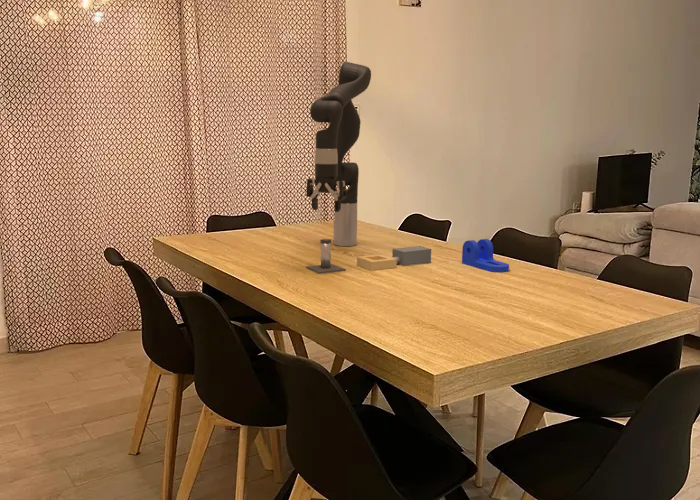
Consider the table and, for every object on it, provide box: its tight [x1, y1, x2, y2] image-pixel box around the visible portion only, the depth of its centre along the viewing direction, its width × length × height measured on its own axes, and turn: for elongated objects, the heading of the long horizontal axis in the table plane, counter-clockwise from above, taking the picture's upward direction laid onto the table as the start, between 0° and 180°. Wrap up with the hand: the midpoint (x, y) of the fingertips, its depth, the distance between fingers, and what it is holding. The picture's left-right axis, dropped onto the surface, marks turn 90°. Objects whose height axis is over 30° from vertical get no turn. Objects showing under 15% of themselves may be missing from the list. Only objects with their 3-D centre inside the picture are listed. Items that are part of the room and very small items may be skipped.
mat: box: [305, 263, 347, 275], centre depth 239 cm, size 10×10×1 cm
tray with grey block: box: [356, 245, 432, 271], centre depth 248 cm, size 26×10×5 cm, turn 121°
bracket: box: [461, 238, 510, 273], centre depth 245 cm, size 18×8×9 cm, turn 29°
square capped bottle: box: [319, 238, 332, 269], centre depth 238 cm, size 3×3×10 cm
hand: (326, 210), depth 236 cm, fingers open, 8 cm apart
